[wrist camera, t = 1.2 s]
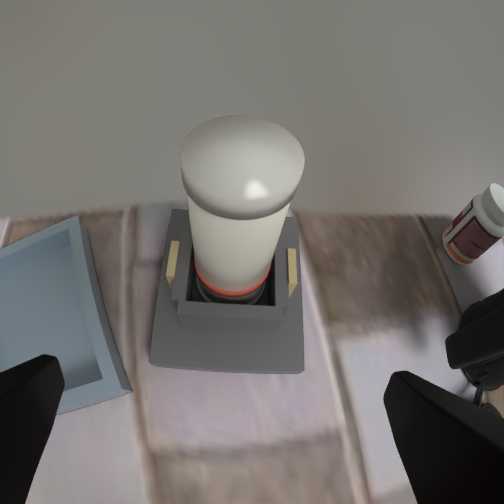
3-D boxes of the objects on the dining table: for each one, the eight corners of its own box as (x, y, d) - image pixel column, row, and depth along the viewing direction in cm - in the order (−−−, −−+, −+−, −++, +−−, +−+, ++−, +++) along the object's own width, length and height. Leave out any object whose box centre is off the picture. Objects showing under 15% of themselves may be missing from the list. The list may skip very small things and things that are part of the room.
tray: (132, 391, 18) (121, 389, 16) (9, 426, 15) (-9, 425, 12) (87, 231, 24) (78, 214, 22) (-14, 276, 20) (-28, 264, 18)
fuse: (263, 316, 20) (310, 204, 10) (194, 312, 20) (169, 194, 10) (263, 255, 23) (299, 121, 12) (200, 252, 22) (190, 112, 12)
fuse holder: (298, 373, 20) (319, 363, 16) (153, 365, 19) (136, 353, 15) (293, 227, 26) (306, 192, 22) (174, 220, 25) (167, 182, 21)
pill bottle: (476, 268, 26) (526, 225, 19) (447, 265, 26) (499, 218, 19) (465, 230, 28) (508, 185, 21) (436, 225, 28) (480, 174, 21)
